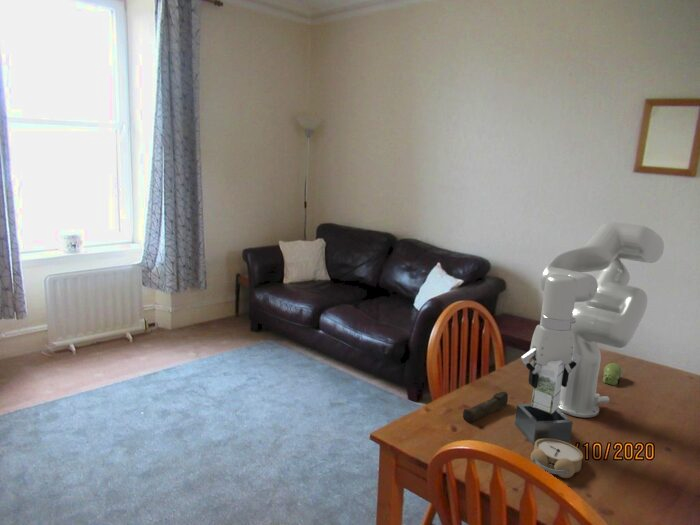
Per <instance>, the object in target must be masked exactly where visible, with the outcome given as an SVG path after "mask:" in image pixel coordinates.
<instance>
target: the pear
mask: <svg viewBox="0 0 700 525" xmlns="http://www.w3.org/2000/svg"><path fill="white" fill-rule="evenodd" d="M622 376H623V368H622V367H621V365H619V364H618V363H616V362H615V363H614V362H610V363H607V365H605V366H604V368H603V378H602V382H603V383H604V384H608V385H611V386H616V385H617V384H618V380H619V379H620V378H622Z"/></svg>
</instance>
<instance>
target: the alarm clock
mask: <svg viewBox="0 0 700 525" xmlns="http://www.w3.org/2000/svg"><path fill="white" fill-rule="evenodd" d="M533 446H534V447H533V450H532V452H530V462H531V461H532V462H534V463H535V464H537V465H538V466H540V467H541V468H543V469H544V470H546V471H548V472H547V473H550V474H553V475H557V476H559V477H560V478H563V479H569V478H571V477H573V476H574V475H575V473H576V474H577V473H579V472H580V471H581V470H582V462H583V459H584V458H583V456H584V454H583V452H582V451H581V449H579V448H578V447H577V446H576V445H573V444H571V443H567V442H564V441H561V440H557V439H551V438H542V439H538V440H537V441H535V444H534V445H533ZM532 462H531V463H532ZM544 470H543V471H544ZM546 471H545V472H546Z"/></svg>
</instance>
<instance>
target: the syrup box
mask: <svg viewBox="0 0 700 525" xmlns="http://www.w3.org/2000/svg"><path fill="white" fill-rule="evenodd" d="M563 372H564V365H562V360H556V361H550V362H548V364H547V365H545V366H541V368H540V369H539V371H538V372H537V374H539V378H538V386H537V388H534V387H532V389H533V390H532V398H531V403H530V404H531V407H533V408H536V409H539V410H542V411H544V412H547V413H550V414H552V413H553V412H554V411H555V410H556V409H557V408H558V407H559V401H560V392H561V385H562V379H563Z"/></svg>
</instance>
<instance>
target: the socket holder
mask: <svg viewBox="0 0 700 525" xmlns="http://www.w3.org/2000/svg"><path fill="white" fill-rule="evenodd" d="M515 411H516V412H515V420H514V425H515V426H516V427H517V429H518V430H520V432H521V433H522V434H523V435H524V436H525V438H526V439H527V440H528V441H529V442H530V443H531V444H532V445H533V446H534V444H535V441H537V440H538V439H542V438H551V439H557V440H561V441H564V442H567V443H569V444H571V438H572V437H571V436H572V431H573V430H572V429H573V423H574V422H573V421H572V419H570V418H569V417H568V416H567V414H565V413H564V412H562V411H560V410H559V409H558V408H557V409H556V410H555V411H554V412H553V413H552V414H550V413H547V412H544V411H542V410H539V409H536V408H533V407H531V403H522V404H516V410H515Z"/></svg>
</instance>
